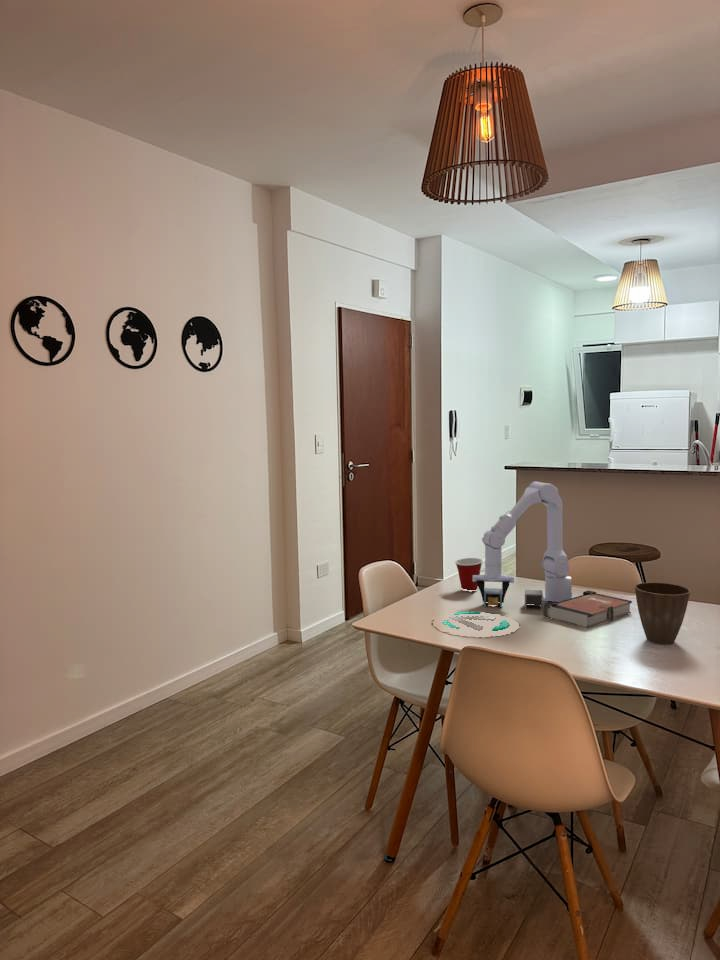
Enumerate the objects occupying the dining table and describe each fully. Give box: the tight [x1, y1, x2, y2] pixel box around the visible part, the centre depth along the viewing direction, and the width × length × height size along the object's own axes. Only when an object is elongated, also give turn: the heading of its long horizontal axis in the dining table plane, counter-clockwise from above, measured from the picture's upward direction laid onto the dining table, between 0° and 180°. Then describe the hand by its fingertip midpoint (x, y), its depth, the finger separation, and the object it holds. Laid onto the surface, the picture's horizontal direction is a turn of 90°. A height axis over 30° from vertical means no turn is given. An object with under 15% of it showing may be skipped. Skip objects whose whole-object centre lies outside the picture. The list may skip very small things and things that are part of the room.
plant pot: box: [634, 582, 691, 646], centre depth 201 cm, size 15×15×16 cm
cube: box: [487, 595, 499, 607], centre depth 242 cm, size 4×4×4 cm
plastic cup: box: [454, 557, 484, 590], centre depth 263 cm, size 11×11×12 cm
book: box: [543, 589, 633, 629], centre depth 229 cm, size 26×18×5 cm
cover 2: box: [524, 589, 544, 610], centre depth 239 cm, size 6×6×6 cm
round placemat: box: [442, 610, 510, 631], centre depth 221 cm, size 28×28×2 cm
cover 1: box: [483, 587, 503, 608], centre depth 242 cm, size 6×6×6 cm
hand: (493, 601), depth 242 cm, fingers closed on cover 1, 6 cm apart
